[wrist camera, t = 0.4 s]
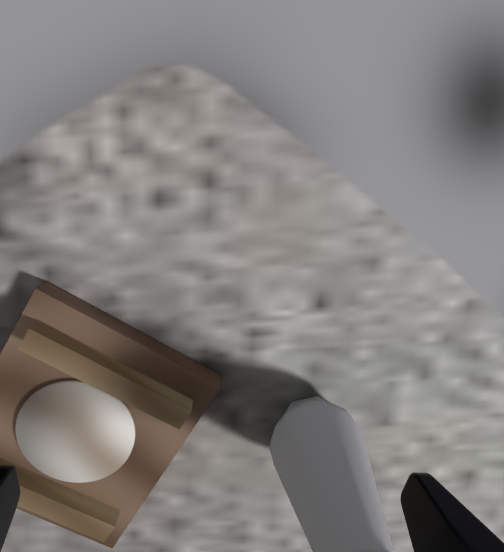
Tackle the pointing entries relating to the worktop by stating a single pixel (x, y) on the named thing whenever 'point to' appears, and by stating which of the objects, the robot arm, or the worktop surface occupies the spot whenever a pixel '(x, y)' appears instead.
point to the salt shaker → (329, 478)
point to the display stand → (92, 412)
